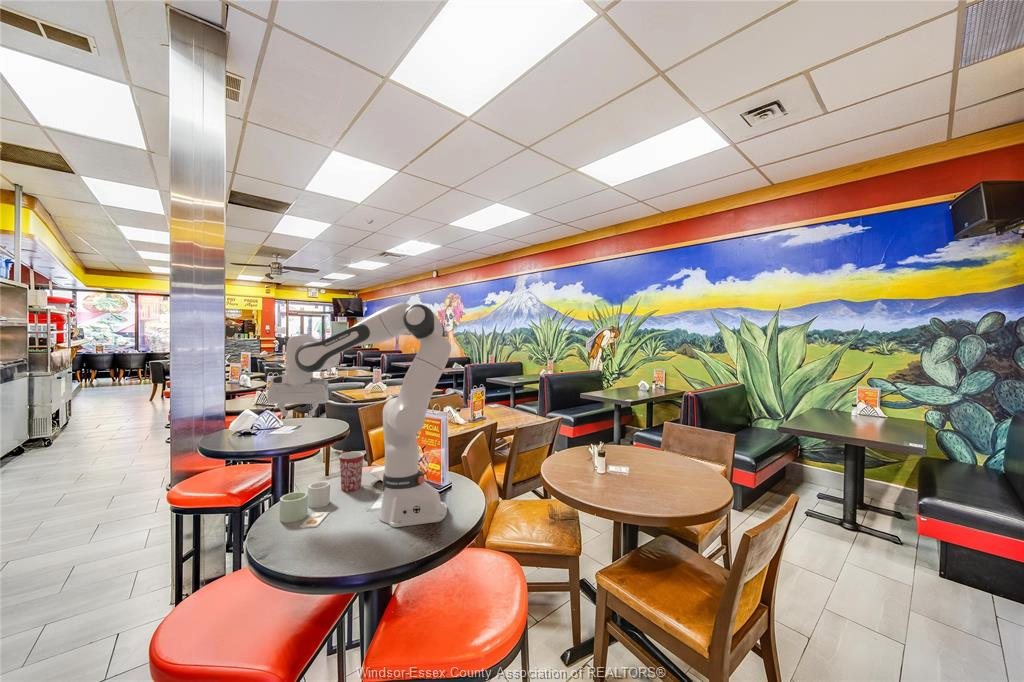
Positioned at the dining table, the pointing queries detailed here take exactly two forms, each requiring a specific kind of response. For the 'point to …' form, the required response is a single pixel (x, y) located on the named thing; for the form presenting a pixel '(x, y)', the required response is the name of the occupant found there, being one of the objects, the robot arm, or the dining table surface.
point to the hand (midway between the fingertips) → (298, 415)
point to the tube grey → (318, 494)
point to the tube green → (293, 507)
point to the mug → (351, 471)
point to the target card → (314, 520)
